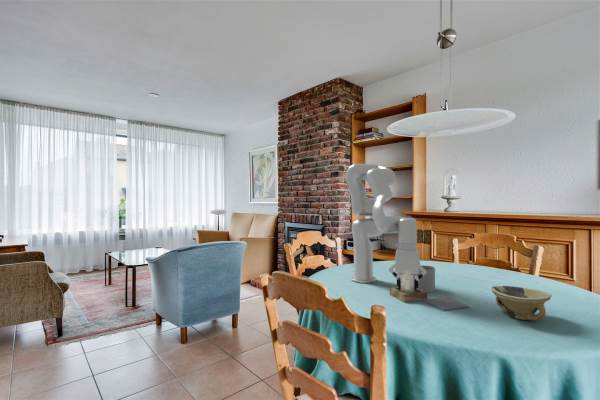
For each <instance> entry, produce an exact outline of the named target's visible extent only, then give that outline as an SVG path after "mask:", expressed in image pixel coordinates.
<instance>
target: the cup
mask: <svg viewBox="0 0 600 400" xmlns="http://www.w3.org/2000/svg"><path fill="white" fill-rule="evenodd" d="M421 266H422V267H423V268H424V269H425V270H426V271H427V273H426V274H425V275H424V276H423V277H422V278H421V279H419V281H418V289H420V290H423V291H425V292H427V293H428V292H429V293H431V292H435V291H436V268H435V267H434V266H430V265H421ZM421 273H422V271H421V270H420V273H419V274H421ZM419 274H418V275H419Z"/></svg>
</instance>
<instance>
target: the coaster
mask: <svg viewBox="0 0 600 400" xmlns="http://www.w3.org/2000/svg"><path fill="white" fill-rule="evenodd" d="M422 301H423V302H425V303H427V304H428V305H431V306H432V307H435V308H437V309H439V310H441V311H443V312H446V311H452V310H459V309H460V310H461V309H468V308H470V305H469V304H466V303H464V302H462V301H459V300H456V299H454V298H452V297H449V296H442V297H439V296H438V297H432V298H427V299H423V300H422Z"/></svg>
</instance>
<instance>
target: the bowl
mask: <svg viewBox="0 0 600 400" xmlns="http://www.w3.org/2000/svg"><path fill="white" fill-rule="evenodd" d="M490 288H491V292H492V293H493V295H495V302H496V304H497V305H498V307H499V308H500V309H501V310H502V311H504V312H505V314H506V315H507V316H508V317H510V318H515V319H517V320H523V321H534V322H537V321H541V320H543V319H544V318H545V317H546V313H547V312H546V307H545V303H546V302H548V301H550V300H551V298H552V294H551V293H549V292H547V291H544V290H539V289H535V288H534V289H533V288H528V287H520V286H514V285H513V286H512V285H511V286H509V285H494V286H492V287H490ZM536 312H538V313H537V314H536Z"/></svg>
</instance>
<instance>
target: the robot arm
mask: <svg viewBox="0 0 600 400" xmlns="http://www.w3.org/2000/svg"><path fill="white" fill-rule="evenodd" d="M345 177H346V182H347V186H348V189H349V193H350V195H349V196H350V202H351V203H350V204H351V211H352V214H353V215H354V216H356V217H369V218H358V219H355V220H354V221H353V222H352V223H351V234H352V238H353V239H352V242H353V275H352V276H351V278H350V279H351V281H352V282H355V283H361V284H368V283H369V284H370V283H374V282H376V281H377V277H376V276H374V264H373V263H374V259H373V258H374V257H373V256H374V254H373V253H374V252H373V250H374V249H373V243H372V241H371V239H370V238H372V237H380V236H382V235H383V234H385V235H386V234H398V235H397V236H398V237H397V238H398V240H397V243H394V247H396V248H397V249H396V251H395V254H394V257H395V258H394V264H392V265H391V266H390V267H389V268H388V271H389V272H390V273H391V274H392V275H393V277H395V279H396V287H398V289H400V275H401V274H404V273H405V270H410V274H412V275H414V276H415V290H417V288H418V281H419V279H421V278H422V277H423V276H424V275H425V274H426V273H427V271H426V270H425V269H424V268H423V267H422V266H423V265H421V257H420V251H419V250H418V249H417V248H418V245H417V243H418V239H417V238H418V235H417V234H418V230H417V229H418V227H417V226H418V225H417V224H418V222H417V219H416V218H414V217H405V216H402V215H396V216H395V215H393V216H392V215H391V216H386V214H385V212H384V209H383V205H384V204H385V203H387V202H388V201H390V200H391V199H392V198H393V191H392V189H391V187H390V186H392V185H393V184H394V183H395V182H396V174H395V172H394V171H393V170H392V169H391V168H389V167H386V166H383V165H380V164H374V163H353V164H351V165H350V166H348V168H347V171H346V175H345ZM362 181H367V183H368V185H369V188H370V191H371V193H372V196H373V197H368V193H367V189H366V186H365V185H364V184H363V182H362ZM420 270H421V271H422V273H421V274H419V273H420ZM418 274H419V275H418Z"/></svg>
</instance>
